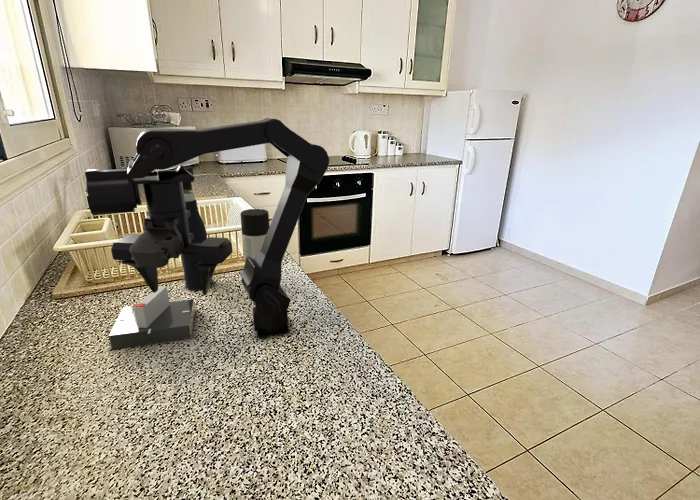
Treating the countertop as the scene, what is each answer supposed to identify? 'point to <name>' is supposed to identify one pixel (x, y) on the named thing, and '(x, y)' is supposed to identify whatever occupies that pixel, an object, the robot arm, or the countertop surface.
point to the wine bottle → (199, 234)
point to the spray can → (254, 230)
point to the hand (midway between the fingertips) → (180, 292)
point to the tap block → (154, 326)
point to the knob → (151, 307)
